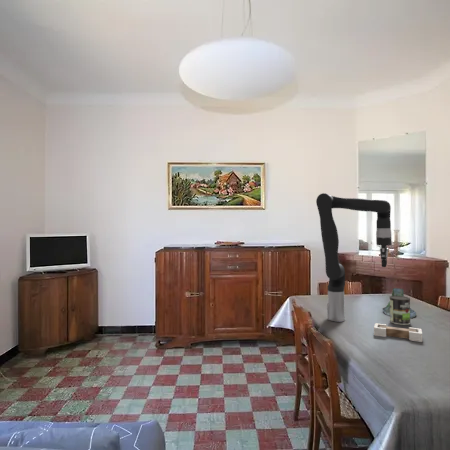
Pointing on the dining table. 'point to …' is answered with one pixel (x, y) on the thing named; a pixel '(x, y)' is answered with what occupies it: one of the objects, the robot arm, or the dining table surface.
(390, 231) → the robot arm
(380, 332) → the end caps
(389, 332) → the slat
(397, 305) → the coffee can
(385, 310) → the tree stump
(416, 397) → the dining table surface
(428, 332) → the dining table surface
